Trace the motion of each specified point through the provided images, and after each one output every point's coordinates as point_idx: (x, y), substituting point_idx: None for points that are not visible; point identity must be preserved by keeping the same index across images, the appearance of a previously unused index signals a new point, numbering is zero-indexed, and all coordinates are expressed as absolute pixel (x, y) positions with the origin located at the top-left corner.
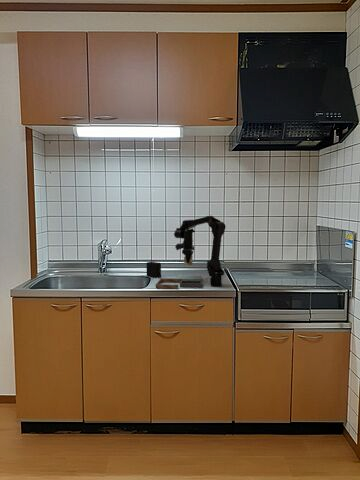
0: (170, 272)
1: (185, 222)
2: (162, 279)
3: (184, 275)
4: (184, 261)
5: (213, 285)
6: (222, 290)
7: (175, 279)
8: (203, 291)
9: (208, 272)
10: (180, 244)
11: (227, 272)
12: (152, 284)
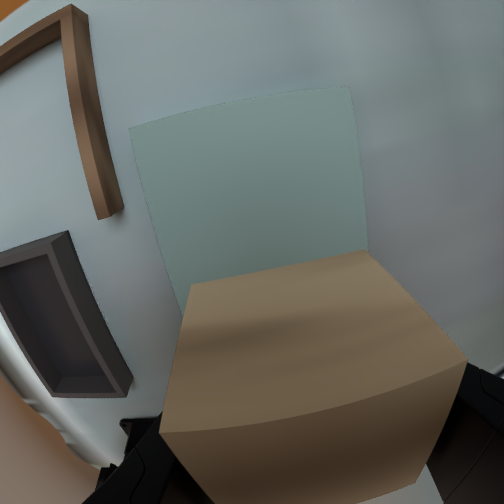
0: (501, 15)
1: None
2: (64, 27)
3: (341, 171)
4: (183, 338)
5: (128, 431)
6: (85, 450)
7: (82, 154)
8: (17, 390)
9: (106, 479)
10: None
11: (500, 374)
12: (11, 15)
